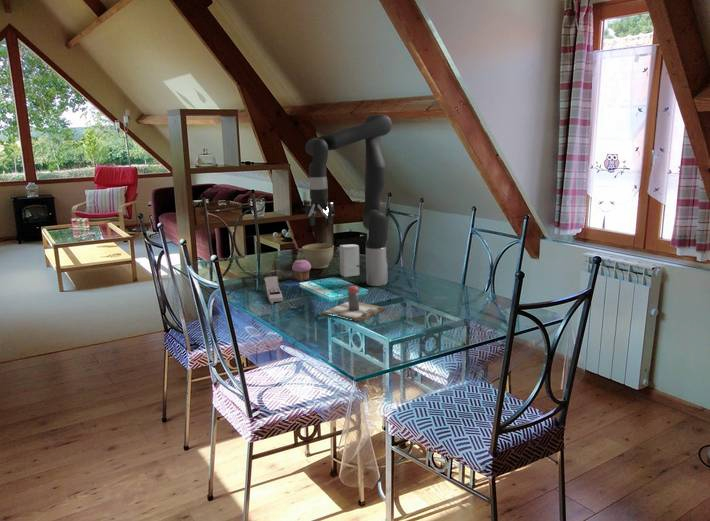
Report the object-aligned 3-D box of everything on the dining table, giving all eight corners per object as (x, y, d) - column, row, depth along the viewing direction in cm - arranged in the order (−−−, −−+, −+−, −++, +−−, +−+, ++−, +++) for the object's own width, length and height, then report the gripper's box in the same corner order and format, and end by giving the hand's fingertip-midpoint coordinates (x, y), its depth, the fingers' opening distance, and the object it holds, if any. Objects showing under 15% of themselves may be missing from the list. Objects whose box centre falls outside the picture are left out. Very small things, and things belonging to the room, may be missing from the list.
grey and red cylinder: (352, 307, 234) (351, 285, 232) (361, 308, 232) (360, 286, 230) (347, 310, 231) (345, 287, 229) (355, 311, 228) (354, 289, 226)
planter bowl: (340, 265, 307) (339, 244, 305) (322, 272, 294) (321, 250, 291) (315, 262, 316) (314, 242, 313) (297, 268, 302) (295, 248, 300)
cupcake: (300, 283, 274) (298, 262, 272) (289, 280, 281) (288, 259, 278) (315, 279, 280) (314, 259, 278) (304, 276, 286) (303, 256, 284)
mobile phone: (277, 275, 267) (283, 290, 244) (278, 288, 269) (284, 304, 245) (264, 277, 266) (268, 291, 242) (265, 289, 267) (269, 305, 244)
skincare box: (344, 277, 282) (343, 247, 279) (339, 274, 288) (338, 244, 284) (360, 275, 286) (359, 245, 282) (355, 272, 291) (354, 243, 288)
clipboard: (350, 302, 244) (350, 297, 243) (386, 309, 233) (386, 304, 233) (322, 314, 230) (322, 309, 229) (359, 322, 219) (359, 317, 219)
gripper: (337, 187, 244) (339, 226, 248) (311, 186, 252) (313, 223, 256) (325, 189, 238) (327, 229, 242) (299, 187, 247) (301, 226, 250)
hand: (320, 226), depth 249 cm, fingers open, 8 cm apart
